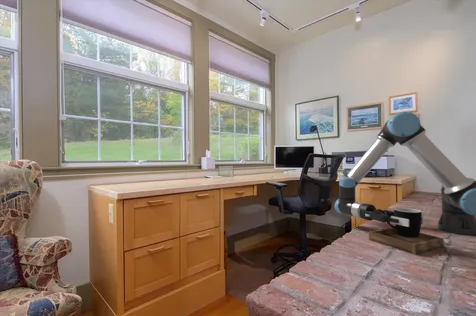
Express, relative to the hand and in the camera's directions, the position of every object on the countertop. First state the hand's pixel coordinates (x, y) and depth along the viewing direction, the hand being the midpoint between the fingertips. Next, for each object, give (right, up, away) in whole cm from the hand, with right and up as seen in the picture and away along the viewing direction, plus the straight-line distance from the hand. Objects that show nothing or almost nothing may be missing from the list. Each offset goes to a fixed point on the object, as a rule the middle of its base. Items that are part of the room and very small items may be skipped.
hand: (416, 222), depth 90 cm
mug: (-2, -6, +4) cm, 8 cm away
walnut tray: (-2, -10, +4) cm, 11 cm away
